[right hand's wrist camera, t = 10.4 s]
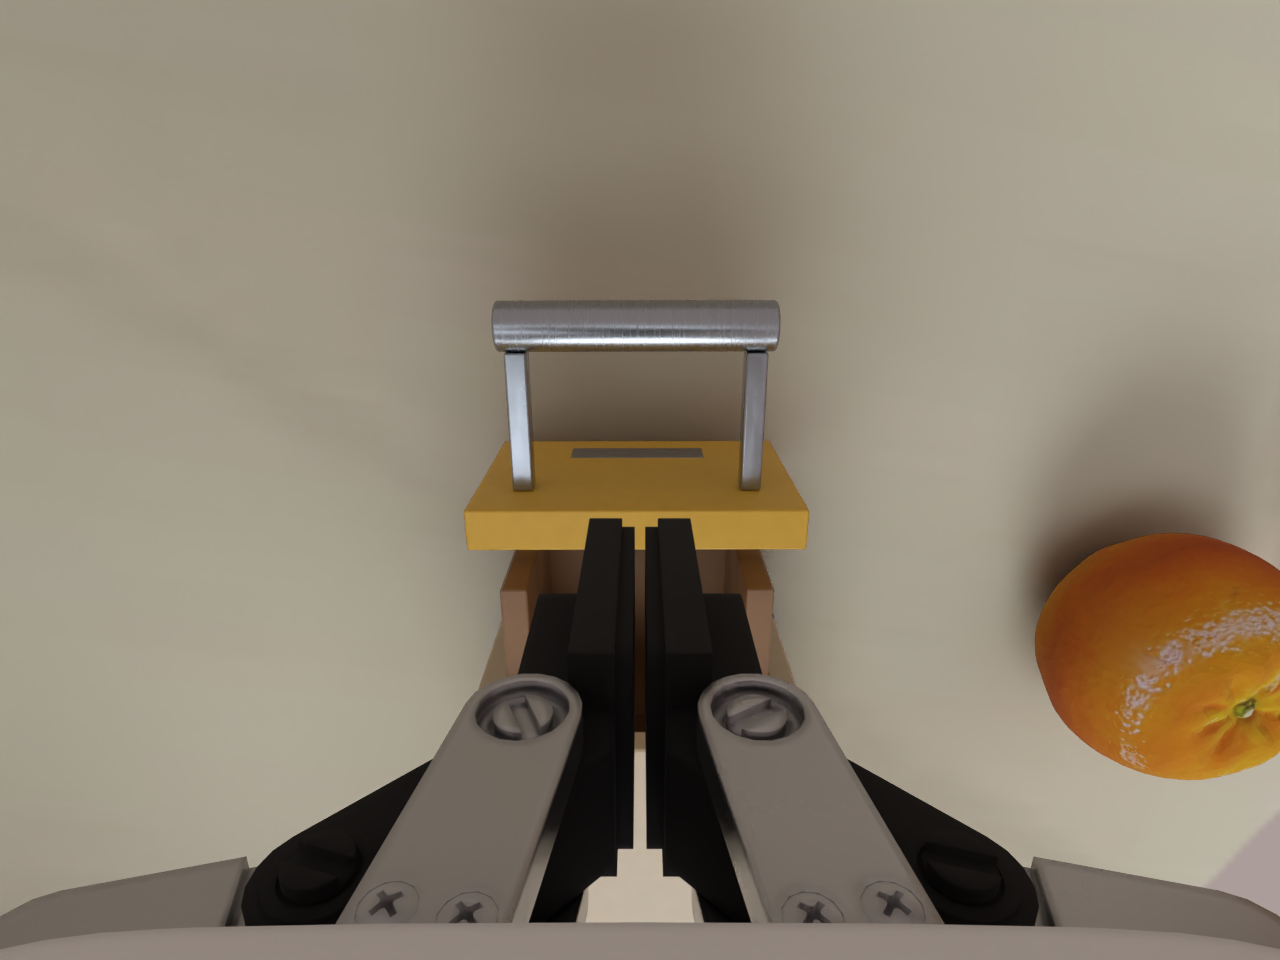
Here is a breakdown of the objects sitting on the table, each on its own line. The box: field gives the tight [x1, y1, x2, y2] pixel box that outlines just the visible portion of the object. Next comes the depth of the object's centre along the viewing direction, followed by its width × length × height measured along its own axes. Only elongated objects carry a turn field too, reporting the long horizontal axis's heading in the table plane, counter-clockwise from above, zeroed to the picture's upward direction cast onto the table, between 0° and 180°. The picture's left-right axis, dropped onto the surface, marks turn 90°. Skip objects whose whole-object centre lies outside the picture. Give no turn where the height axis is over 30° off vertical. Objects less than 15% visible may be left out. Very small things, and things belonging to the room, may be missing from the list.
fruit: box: [1035, 533, 1280, 780], centre depth 26 cm, size 8×8×8 cm
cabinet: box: [478, 614, 796, 923], centre depth 27 cm, size 13×11×8 cm
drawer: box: [464, 300, 809, 732], centre depth 24 cm, size 17×9×6 cm, turn 0°
